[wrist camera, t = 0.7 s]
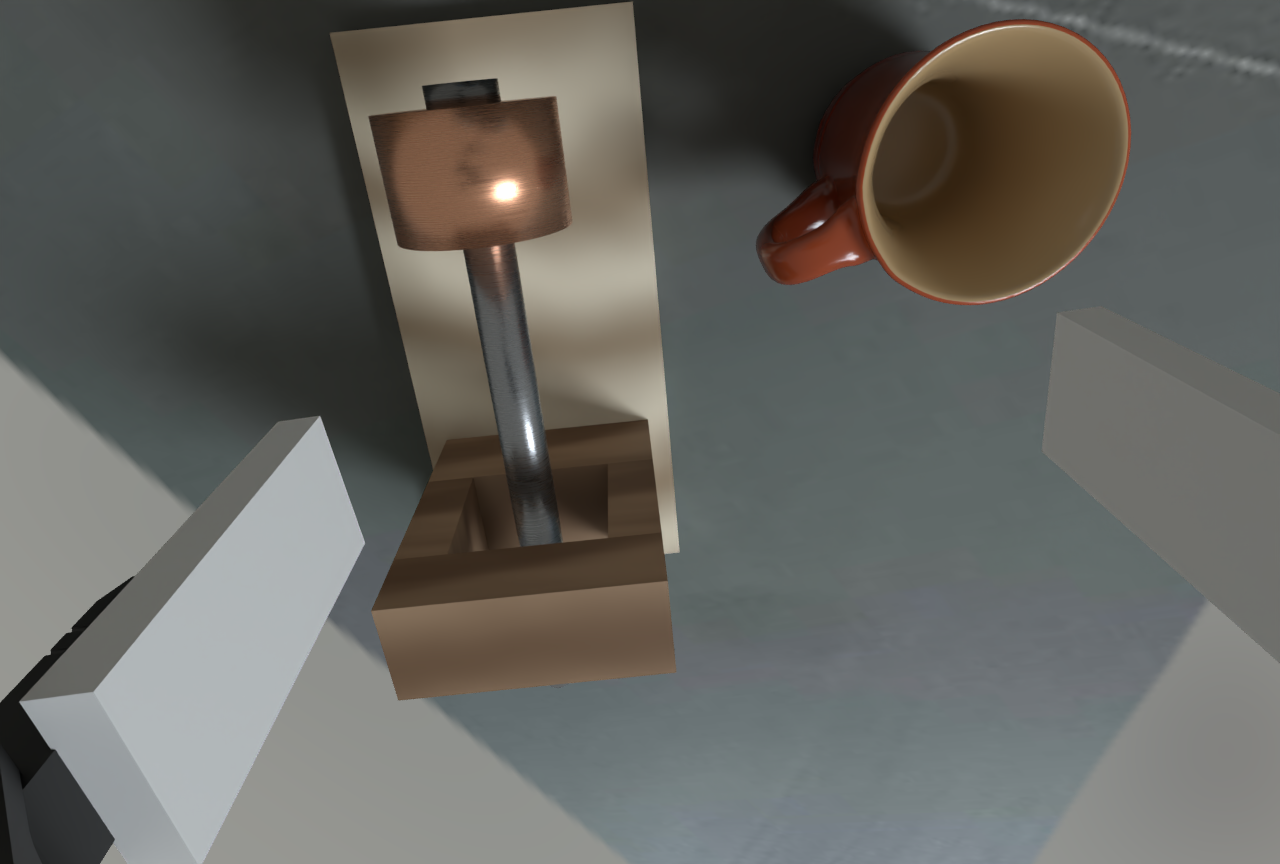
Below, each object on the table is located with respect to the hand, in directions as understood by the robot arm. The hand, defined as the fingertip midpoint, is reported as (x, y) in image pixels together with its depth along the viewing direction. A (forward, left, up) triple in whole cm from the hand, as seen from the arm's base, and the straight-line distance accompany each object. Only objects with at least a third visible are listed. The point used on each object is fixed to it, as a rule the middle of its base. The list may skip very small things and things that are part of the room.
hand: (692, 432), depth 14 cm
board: (+4, -6, -23) cm, 24 cm away
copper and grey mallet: (+6, -6, -18) cm, 19 cm away
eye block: (+11, -6, -22) cm, 25 cm away
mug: (-1, +10, -23) cm, 25 cm away
